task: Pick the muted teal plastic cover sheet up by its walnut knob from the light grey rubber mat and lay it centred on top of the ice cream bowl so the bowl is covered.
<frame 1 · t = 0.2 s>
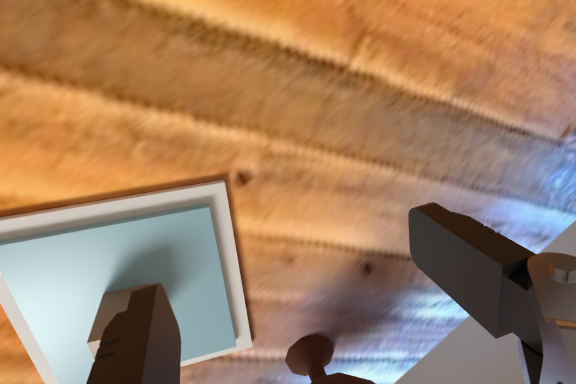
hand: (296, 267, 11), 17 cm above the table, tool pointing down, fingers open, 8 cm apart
mat: (134, 294, 29), on the table
ice cream bowl: (308, 352, 38), on the table
cover sheet: (133, 298, 29), point 1 cm above the table, touching mat
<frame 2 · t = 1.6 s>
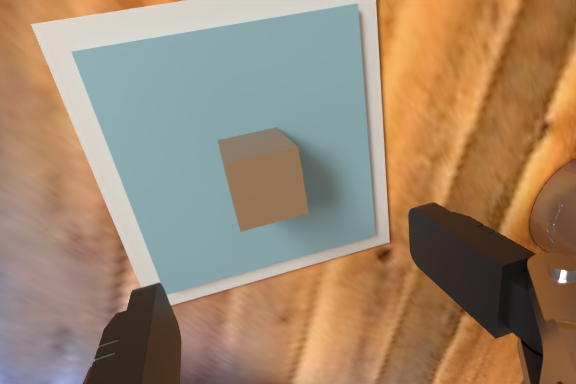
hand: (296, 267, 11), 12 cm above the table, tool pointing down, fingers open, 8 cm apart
mat: (250, 155, 22), on the table
ice cream bowl: (124, 380, 26), on the table
cover sheet: (251, 158, 21), point 1 cm above the table, touching mat
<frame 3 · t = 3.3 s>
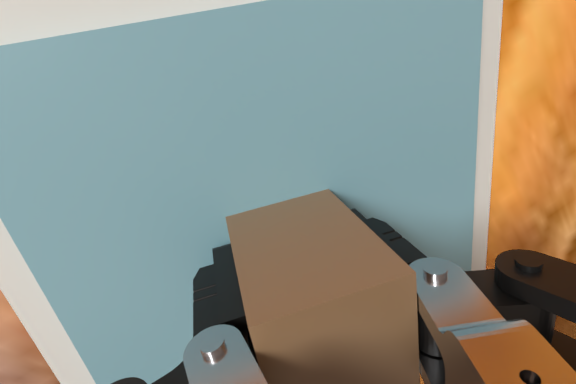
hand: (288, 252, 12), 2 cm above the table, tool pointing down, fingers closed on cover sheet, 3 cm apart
mat: (278, 229, 13), on the table
cover sheet: (282, 236, 13), point 1 cm above the table, touching gripper, mat
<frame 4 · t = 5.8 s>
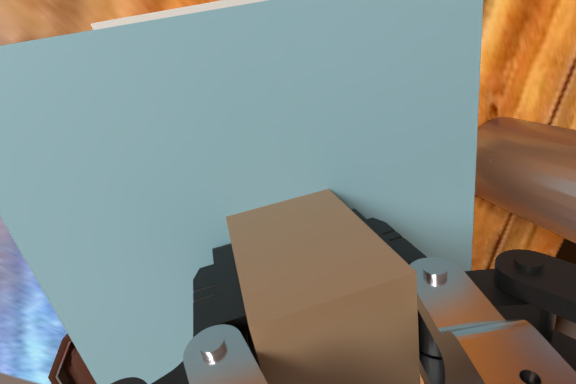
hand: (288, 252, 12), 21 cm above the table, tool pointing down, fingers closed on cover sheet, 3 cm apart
mat: (239, 116, 31), on the table
ice cream bowl: (148, 292, 35), on the table
cover sheet: (282, 236, 13), point 20 cm above the table, touching gripper
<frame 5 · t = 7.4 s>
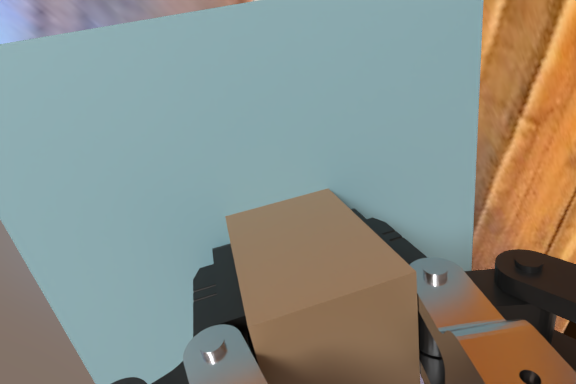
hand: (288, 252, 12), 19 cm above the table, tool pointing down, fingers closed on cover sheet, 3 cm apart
cover sheet: (281, 236, 13), point 18 cm above the table, touching gripper
when the fingers open (18 cm above the table, at t = 8.7 s): cover sheet drops 1 cm, resting on ice cream bowl.
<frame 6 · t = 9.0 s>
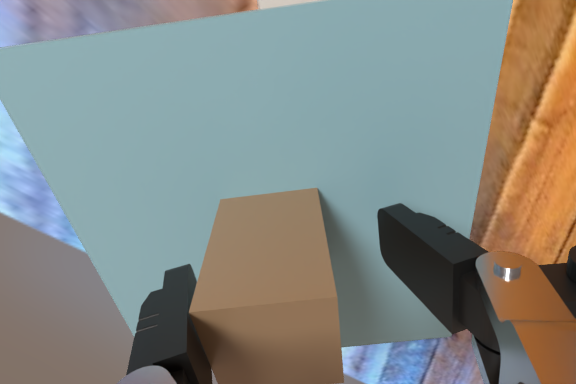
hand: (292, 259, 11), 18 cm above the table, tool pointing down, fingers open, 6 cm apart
cover sheet: (275, 219, 14), point 15 cm above the table, tilted 17°, touching gripper, ice cream bowl
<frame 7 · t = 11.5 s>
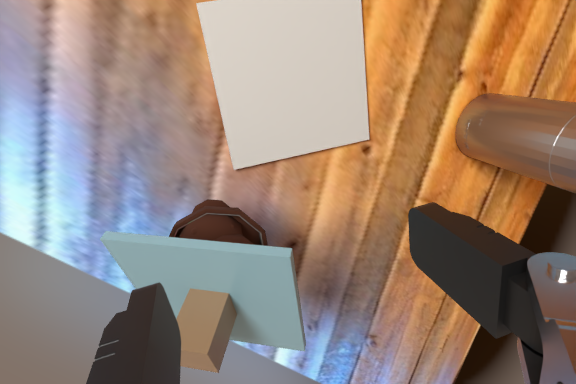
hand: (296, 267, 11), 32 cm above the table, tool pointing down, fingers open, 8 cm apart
mat: (292, 79, 40), on the table
ice cream bowl: (212, 218, 44), on the table, touching cover sheet
cover sheet: (217, 293, 31), point 15 cm above the table, tilted 34°, touching ice cream bowl
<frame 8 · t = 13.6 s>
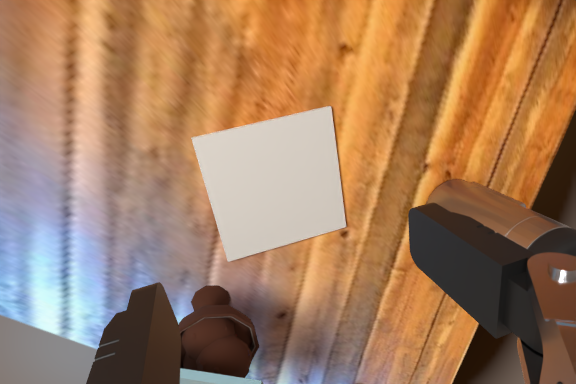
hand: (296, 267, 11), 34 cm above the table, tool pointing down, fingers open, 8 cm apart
mat: (276, 186, 47), on the table
ice cream bowl: (210, 300, 51), on the table, touching cover sheet
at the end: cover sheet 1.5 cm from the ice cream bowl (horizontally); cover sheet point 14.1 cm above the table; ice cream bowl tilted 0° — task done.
